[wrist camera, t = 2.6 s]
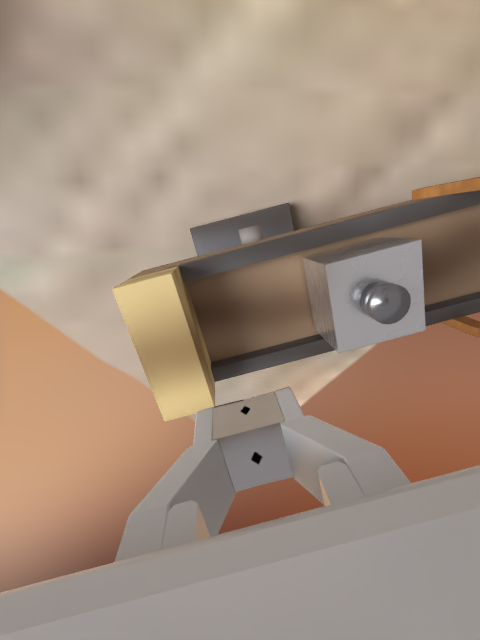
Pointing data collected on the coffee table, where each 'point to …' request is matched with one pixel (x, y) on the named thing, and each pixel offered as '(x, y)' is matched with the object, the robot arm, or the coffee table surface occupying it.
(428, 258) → the grey gold rectangular frame
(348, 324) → the rider
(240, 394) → the coffee table surface
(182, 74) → the coffee table surface
